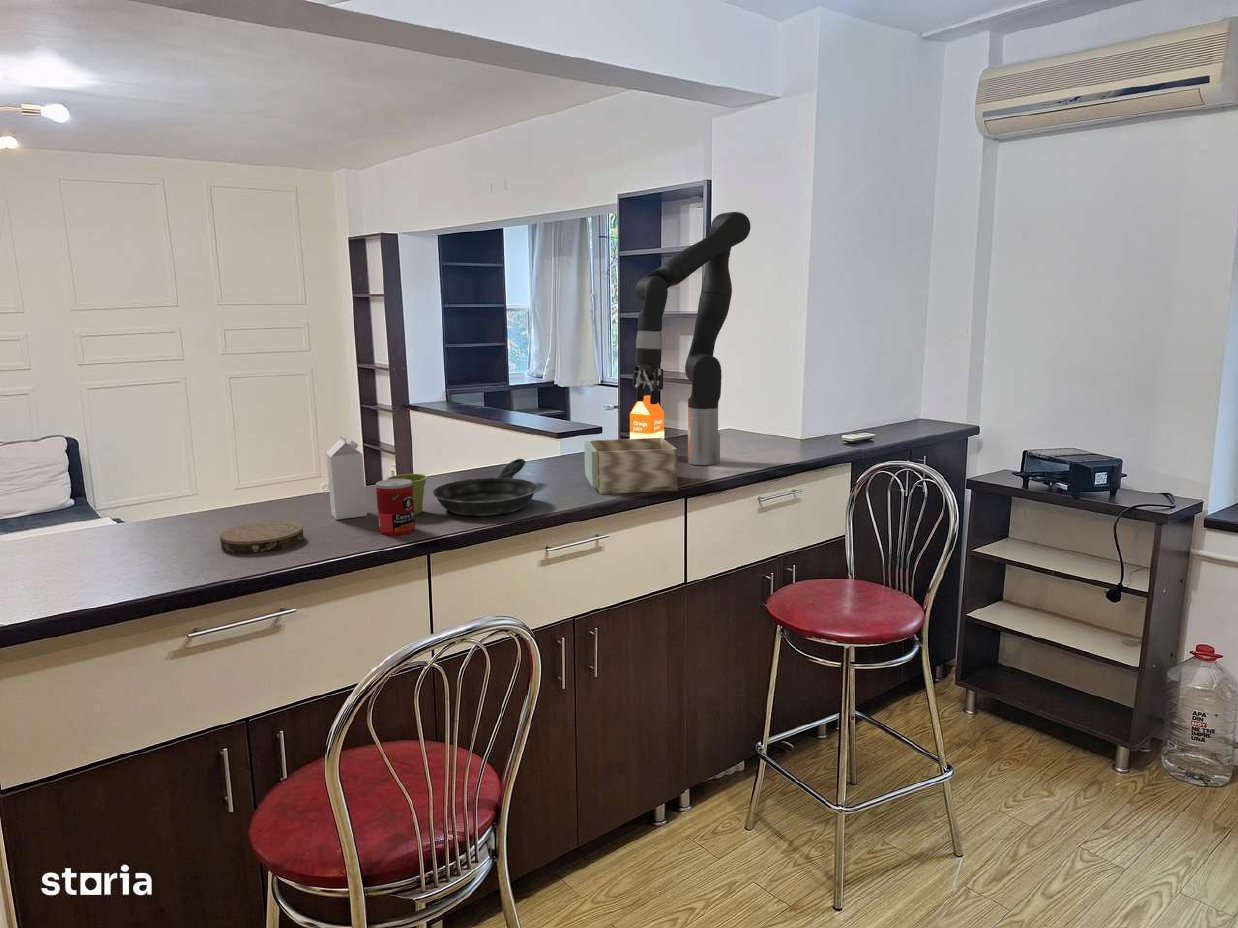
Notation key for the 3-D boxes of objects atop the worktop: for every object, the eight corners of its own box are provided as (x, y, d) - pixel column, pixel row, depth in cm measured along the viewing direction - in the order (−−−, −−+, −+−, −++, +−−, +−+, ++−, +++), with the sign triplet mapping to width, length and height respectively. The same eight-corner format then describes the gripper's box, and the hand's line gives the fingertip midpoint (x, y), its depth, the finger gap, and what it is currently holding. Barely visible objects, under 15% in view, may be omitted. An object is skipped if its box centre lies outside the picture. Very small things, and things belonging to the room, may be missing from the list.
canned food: (397, 537, 174) (393, 487, 172) (371, 532, 178) (367, 483, 176) (423, 529, 180) (420, 480, 178) (397, 524, 185) (394, 477, 183)
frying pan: (519, 523, 185) (518, 494, 184) (416, 519, 190) (414, 490, 189) (569, 482, 227) (568, 459, 226) (484, 480, 232) (482, 457, 231)
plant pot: (437, 512, 195) (435, 477, 194) (402, 520, 189) (400, 483, 187) (415, 506, 202) (413, 472, 200) (381, 513, 195) (378, 478, 193)
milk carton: (335, 520, 189) (329, 439, 186) (331, 514, 195) (324, 435, 192) (367, 516, 192) (361, 436, 189) (361, 510, 199) (355, 433, 195)
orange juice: (664, 456, 264) (664, 394, 260) (650, 461, 257) (650, 397, 253) (643, 454, 268) (643, 393, 264) (629, 458, 261) (628, 396, 257)
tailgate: (590, 474, 229) (589, 441, 228) (598, 487, 213) (597, 451, 211) (585, 474, 229) (584, 441, 227) (592, 487, 212) (591, 451, 211)
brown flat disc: (319, 536, 177) (317, 522, 177) (272, 557, 162) (271, 543, 162) (254, 532, 181) (253, 519, 180) (203, 553, 166) (202, 539, 165)
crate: (662, 475, 234) (661, 437, 232) (677, 490, 215) (677, 449, 213) (591, 478, 231) (590, 440, 229) (600, 494, 212) (599, 452, 210)
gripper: (672, 348, 232) (669, 405, 235) (648, 346, 245) (646, 400, 247) (649, 347, 229) (646, 405, 231) (626, 345, 241) (624, 400, 244)
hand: (646, 402), depth 239 cm, fingers open, 8 cm apart
